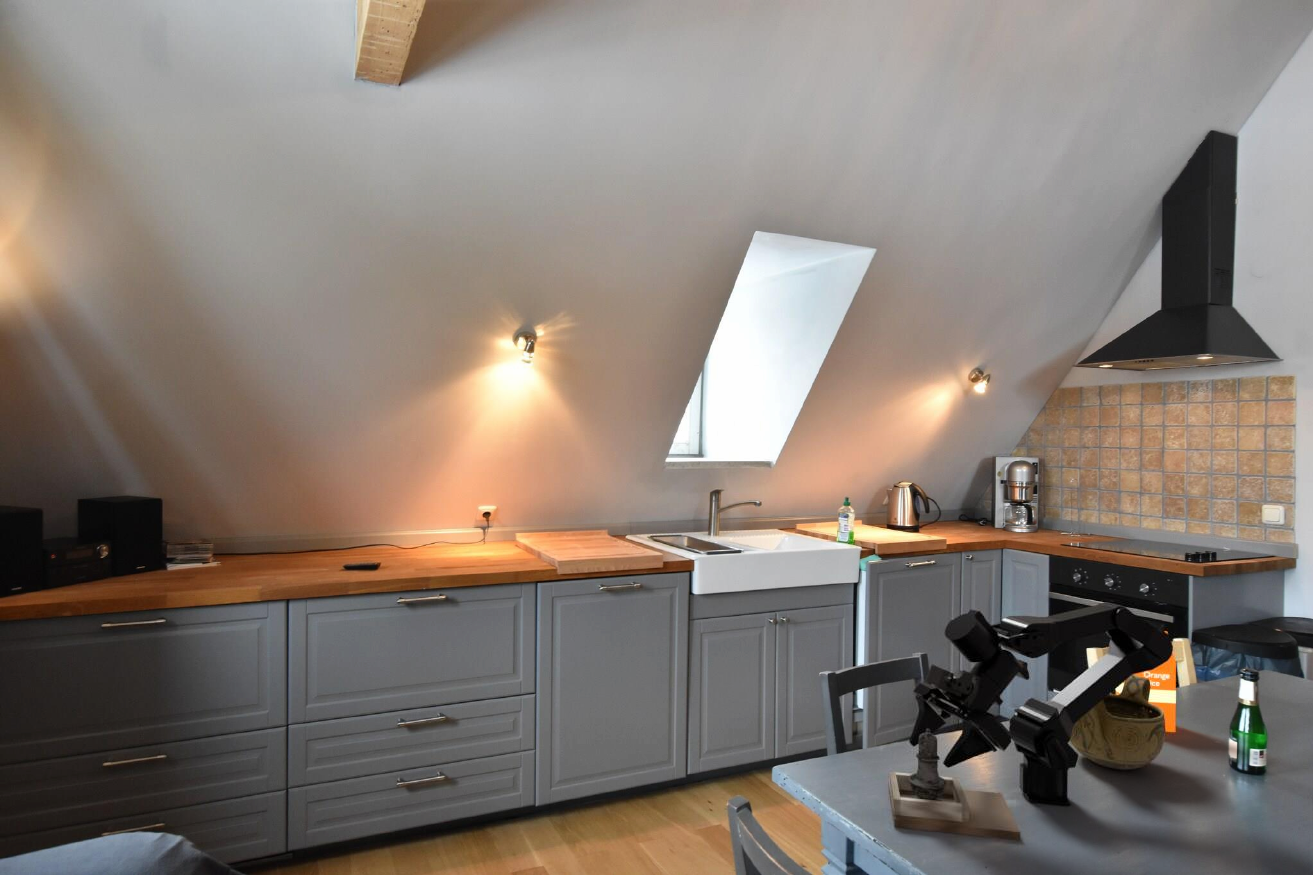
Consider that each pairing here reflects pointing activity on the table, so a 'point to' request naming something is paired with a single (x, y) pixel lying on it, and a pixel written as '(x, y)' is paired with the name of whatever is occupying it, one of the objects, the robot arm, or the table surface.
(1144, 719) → the ceramic bowl
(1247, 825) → the table surface
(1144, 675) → the orange juice
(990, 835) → the board
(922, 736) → the salt shaker
